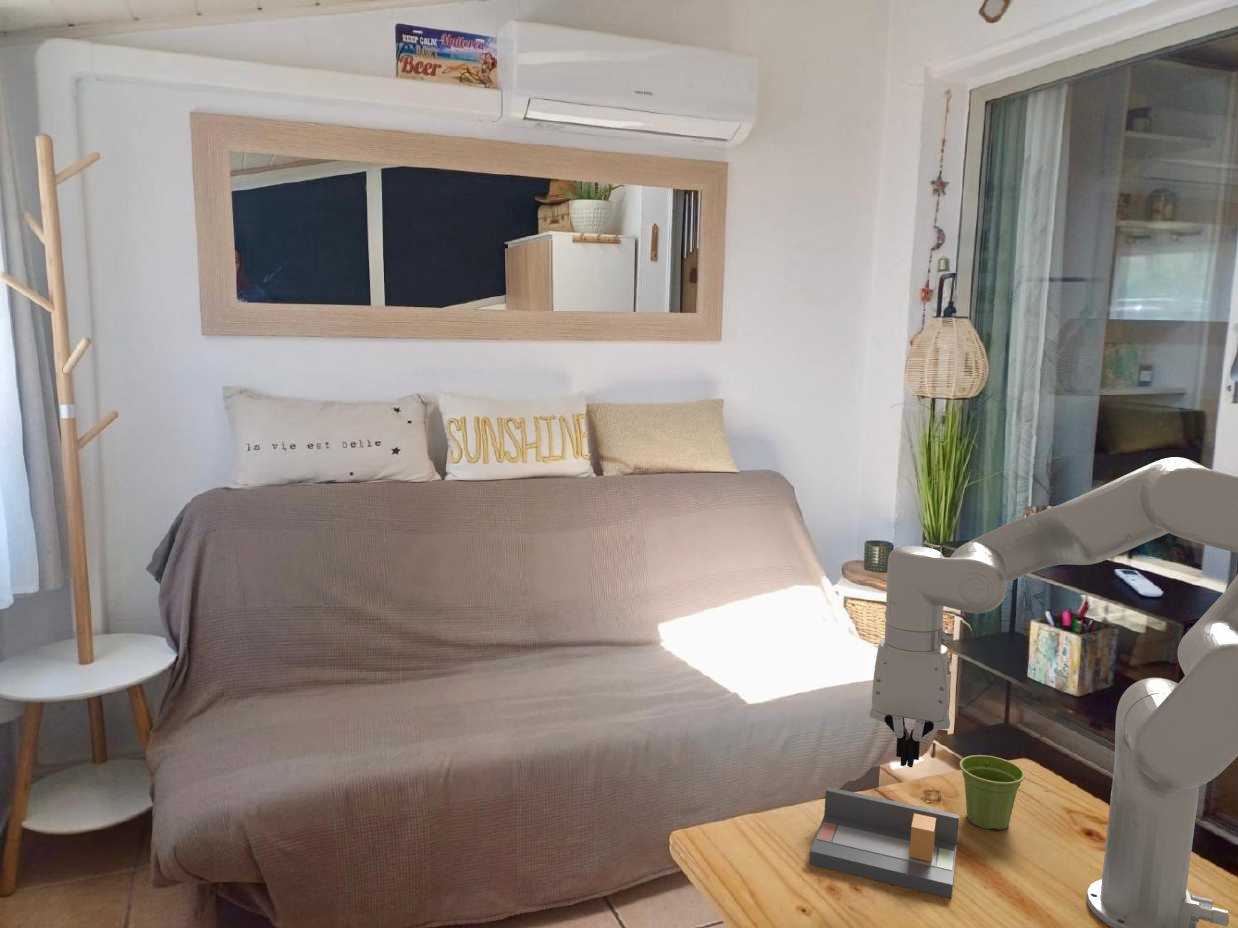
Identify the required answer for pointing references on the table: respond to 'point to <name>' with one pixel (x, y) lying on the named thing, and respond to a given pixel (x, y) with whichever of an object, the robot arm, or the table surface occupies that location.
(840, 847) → the switch panel
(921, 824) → the handle
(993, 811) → the plant pot
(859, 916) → the table surface
